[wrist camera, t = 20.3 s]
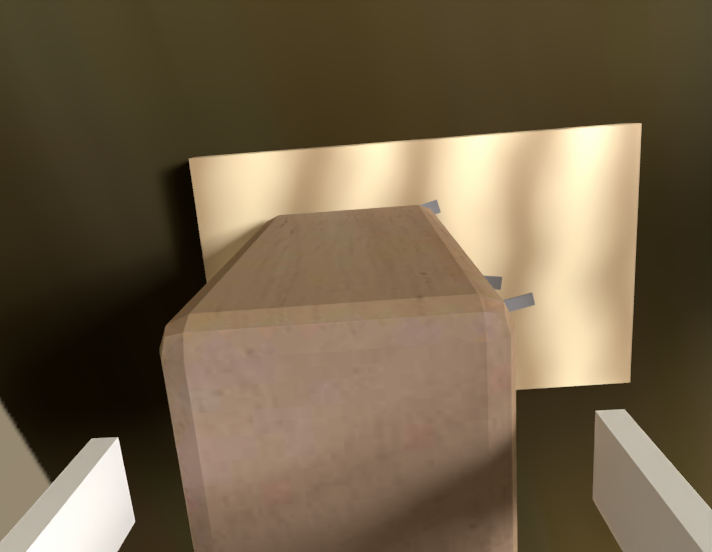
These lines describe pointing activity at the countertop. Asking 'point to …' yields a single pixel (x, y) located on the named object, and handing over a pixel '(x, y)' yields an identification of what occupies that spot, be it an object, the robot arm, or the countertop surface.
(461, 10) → the countertop surface
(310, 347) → the block
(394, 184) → the board
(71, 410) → the countertop surface
